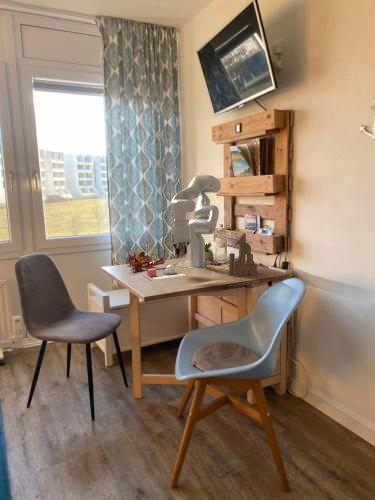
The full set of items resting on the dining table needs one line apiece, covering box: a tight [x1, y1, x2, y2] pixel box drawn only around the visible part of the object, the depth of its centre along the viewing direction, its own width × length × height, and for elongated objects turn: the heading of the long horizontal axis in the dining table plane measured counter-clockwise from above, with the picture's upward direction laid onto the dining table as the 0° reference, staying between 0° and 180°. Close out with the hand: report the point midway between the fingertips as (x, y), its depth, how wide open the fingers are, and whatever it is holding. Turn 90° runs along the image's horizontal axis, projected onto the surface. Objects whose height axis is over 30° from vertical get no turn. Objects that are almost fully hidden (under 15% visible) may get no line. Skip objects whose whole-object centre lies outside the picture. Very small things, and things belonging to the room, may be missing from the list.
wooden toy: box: [228, 232, 258, 277], centre depth 221 cm, size 16×7×25 cm, turn 101°
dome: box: [165, 264, 176, 274], centre depth 223 cm, size 5×5×5 cm
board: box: [142, 267, 186, 282], centre depth 218 cm, size 23×14×5 cm, turn 117°
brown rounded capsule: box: [178, 242, 186, 257], centre depth 217 cm, size 4×4×8 cm
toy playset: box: [126, 250, 167, 273], centre depth 243 cm, size 35×26×14 cm
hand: (181, 254), depth 218 cm, fingers closed on brown rounded capsule, 4 cm apart
